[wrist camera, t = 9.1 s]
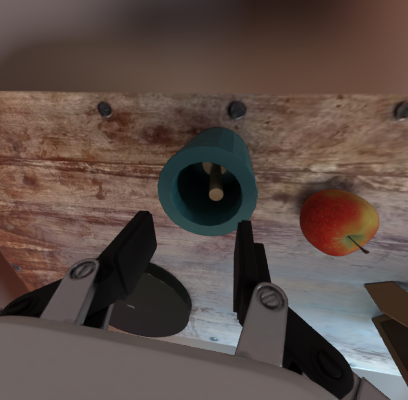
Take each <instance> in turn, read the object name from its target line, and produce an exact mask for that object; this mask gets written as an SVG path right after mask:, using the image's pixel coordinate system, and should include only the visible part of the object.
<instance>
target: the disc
mask: <svg viewBox="0 0 408 400" xmlns="http://www.w3.org/2000/svg"><path fill="white" fill-rule="evenodd" d="M97 259H98V258H97ZM97 259H96V260H97ZM190 311H191V299H190V297H189V294H188V292H187V291H186V289H185V288H184V286H183V285H182V284H181V283H180V282H179V281H178V280H177V279H176V278H175V277H174V276H172V275H171V274H170V273H168V272H167V271H165V270H164V269H162V268H160V267H158V266H157V265H154V264H152V263H148V265H147V267H146V269H145V271H144V273H143V274H142V276H141V278H140V280H139V282H138V284H137V286H136V287H135V289H134V291H133V293H132V294H131V295H129V296H128V298H127V299H126V301H123V300H117V301H116V302H115V303H114V307H113V310H112V314H111V318H110V322H109V325H111V326H113V327H115V328H117V329H120V330H122V331H125V332H128V333H132V334H135V335H140V336H146V337H166V336H171V335H174V334H177V333H179V332H181V331H182V330H184V328H185V327H186V326H187V324H188V321H189V316H190Z"/></svg>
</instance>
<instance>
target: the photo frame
mask: <svg viewBox="0 0 408 400" xmlns="http://www.w3.org/2000/svg"><path fill="white" fill-rule="evenodd" d="M364 286H365V288H366V289H367V291H368V292H369V294H370V295H371V297H372V298H373V300H374V302H375V303H376V305H377V306H378V308H379V309H380V311H381V312H383V313H384V315H381V316H378V317H375V318H372V321H373V323H374V325H375V327H376V328H377V330H378V332H379V334H380V336H381V338H382V340H383V341H384V343H385V345H386V347H387V349H388V351H389V353H390V354H391V356H392V358H393V360H394V362H395V364H396V366H397V367H398V369H399V371H400V373H401V375H402V377H403V379H404V380H405V382H406V384H407V386H408V292H406V291H405V290H404V289H402V288H401V287H399V286H398V285H397V284H395V283H394V282H387V283H378V284H369V285H364Z"/></svg>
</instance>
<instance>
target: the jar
mask: <svg viewBox="0 0 408 400" xmlns="http://www.w3.org/2000/svg"><path fill="white" fill-rule="evenodd" d="M203 162H212V163H215V164H218V165H221V166H223V167H225V168H226V169H227V170H226V172H225V173H223V174H222V184H223V197H222V199H221V200H218V201H214V200H212V199H211V198H210V197H209V184H210V175H209V174H208V173H207V172H206V171H205V170H204V168H203ZM158 195H159V201H160V203H161V205H162V207H163V209H164V211H165V213H166V214H167V215H168V216H169V217H170V219H171V220H172V221H173V222H174V223H175V224H177V225H178V226H180V227H181V228H183V229H184V230H187V231H189V232H192V233H195V234H199V235H204V236H218V235H225V234H227V233H230V232H232V231H234V230H237V226H238V222H241V221H242V220H249V218H250V217H251V215H252V213H253V211H254V210H255V207H256V203H257V197H258V190H257V185H256V180H255V176H254V172H253V168H252V164H251V161H250V157H249V153H248V149H247V147H246V145H245V143H244V141H243V140H242V138H241V137H240V136H239V135H238V134H236V133H235V132H233V131H231V130H229V129H226V128H220V127H215V128H210V129H207V130H204V131H202V132H201V133H200V134H198V135H197V136H196V137H194V138H193V139H192V140H191V141H190V142H189V143H187V144H186V145H185V146H184V147H183V148H182V149H181V150H179V151H178V152H177V153H176V154H175V155H174V156H172V157H171V158H170V159H169V160H168V161H167V163H166V164H165V166H164V168H163V169H162V171H161V173H160V177H159V181H158Z"/></svg>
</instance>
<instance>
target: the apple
mask: <svg viewBox="0 0 408 400" xmlns="http://www.w3.org/2000/svg"><path fill="white" fill-rule="evenodd" d="M300 226H301V230H302V232H303V234H304V236H305V237H306V239H307V240H308V241H309V242H310V243H311V244H312V245H313V246H314V247H316V248H317V249H319V250H320V251H322V252H324V253H326V254H328V255H332V256H344V255H348V254H350V253H352V252H354V251H356V250H358V249H359V248H360V249H361V250H362V251H363V252H364V253H365V254H367V253H370V252H369V251H367V250H365V249H363V248H362V246H364V245H365V244H366V243H367V242H368V241H370V240H371V239H372V238H373V236H374V235H375V234H376V232H377V230H378V227H379V217H378V214H377V212H376V210H375V209H374V207H373V206H372V205H371V204H370V203H368V202H367V201H366V200H365V199H363V198H361V197H359V196H358V195H355V194H353V193H350V192H347V191H343V190H336V189H328V190H322V191H319V192H317V193H315V194H313V195H311V196H310V197H309V198H308V199H307V200H306V201H305V203H304V204H303V206H302V209H301V212H300Z"/></svg>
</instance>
